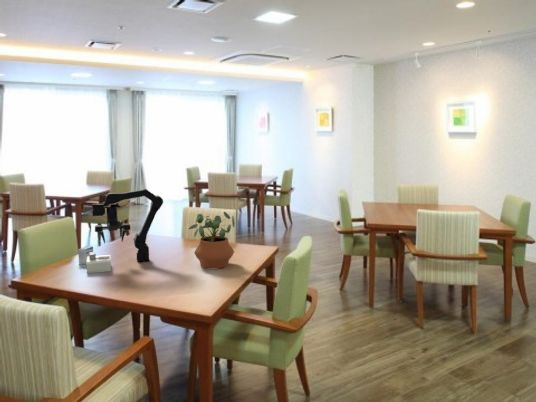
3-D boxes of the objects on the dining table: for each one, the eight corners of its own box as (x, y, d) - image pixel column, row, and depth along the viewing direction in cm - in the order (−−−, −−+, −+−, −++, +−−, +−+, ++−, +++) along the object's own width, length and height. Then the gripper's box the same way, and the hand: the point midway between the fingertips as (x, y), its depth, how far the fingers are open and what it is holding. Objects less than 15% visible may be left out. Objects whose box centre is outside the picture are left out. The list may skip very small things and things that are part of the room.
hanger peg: (97, 266, 244) (97, 251, 243) (97, 268, 239) (96, 254, 238) (89, 266, 243) (88, 252, 242) (88, 269, 238) (87, 254, 237)
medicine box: (85, 264, 251) (85, 249, 249) (78, 264, 252) (77, 249, 250) (93, 261, 258) (93, 246, 257) (87, 260, 259) (86, 245, 258)
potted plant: (215, 273, 236) (215, 217, 232) (177, 264, 252) (176, 212, 247) (242, 263, 255) (242, 211, 250) (205, 256, 270) (204, 207, 266)
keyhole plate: (110, 265, 250) (110, 254, 249) (111, 271, 239) (110, 260, 238) (87, 267, 246) (87, 256, 245) (86, 273, 235) (86, 262, 234)
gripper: (94, 218, 240) (95, 247, 242) (130, 216, 246) (131, 244, 248) (94, 215, 250) (95, 242, 252) (129, 213, 256) (130, 240, 259)
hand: (113, 242), depth 253 cm, fingers open, 9 cm apart
